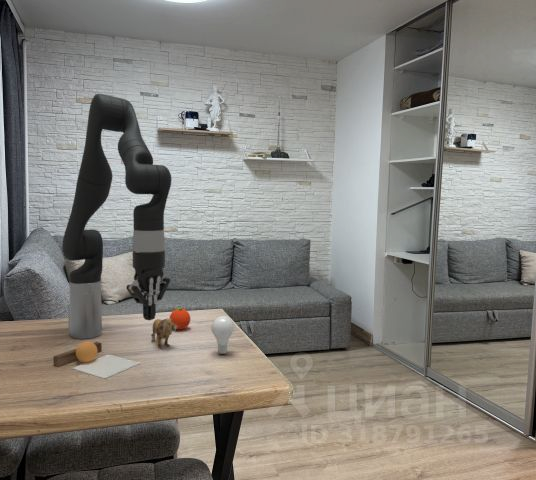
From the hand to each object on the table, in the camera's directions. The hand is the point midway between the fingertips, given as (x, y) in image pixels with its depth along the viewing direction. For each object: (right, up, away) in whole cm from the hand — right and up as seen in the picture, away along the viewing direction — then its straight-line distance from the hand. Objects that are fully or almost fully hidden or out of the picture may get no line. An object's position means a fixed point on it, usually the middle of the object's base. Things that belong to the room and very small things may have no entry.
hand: (149, 319), depth 115 cm
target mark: (-13, -14, +9) cm, 21 cm away
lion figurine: (-3, -12, +28) cm, 31 cm away
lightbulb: (+16, -13, +20) cm, 29 cm away
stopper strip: (-23, -13, +14) cm, 30 cm away
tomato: (-1, -11, +43) cm, 44 cm away
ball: (-20, -11, +11) cm, 25 cm away
